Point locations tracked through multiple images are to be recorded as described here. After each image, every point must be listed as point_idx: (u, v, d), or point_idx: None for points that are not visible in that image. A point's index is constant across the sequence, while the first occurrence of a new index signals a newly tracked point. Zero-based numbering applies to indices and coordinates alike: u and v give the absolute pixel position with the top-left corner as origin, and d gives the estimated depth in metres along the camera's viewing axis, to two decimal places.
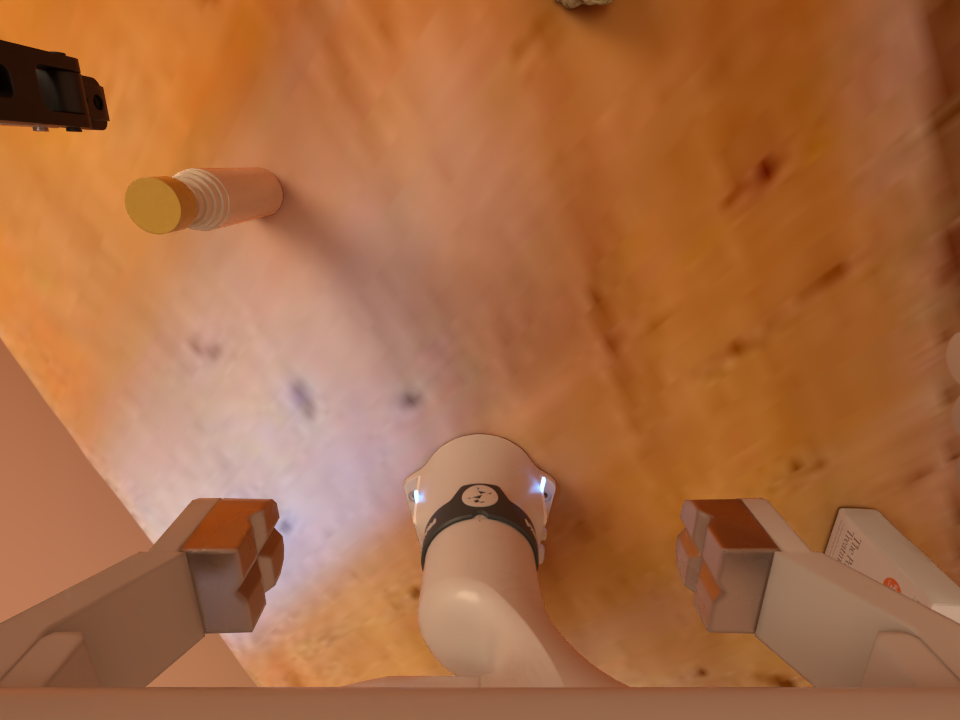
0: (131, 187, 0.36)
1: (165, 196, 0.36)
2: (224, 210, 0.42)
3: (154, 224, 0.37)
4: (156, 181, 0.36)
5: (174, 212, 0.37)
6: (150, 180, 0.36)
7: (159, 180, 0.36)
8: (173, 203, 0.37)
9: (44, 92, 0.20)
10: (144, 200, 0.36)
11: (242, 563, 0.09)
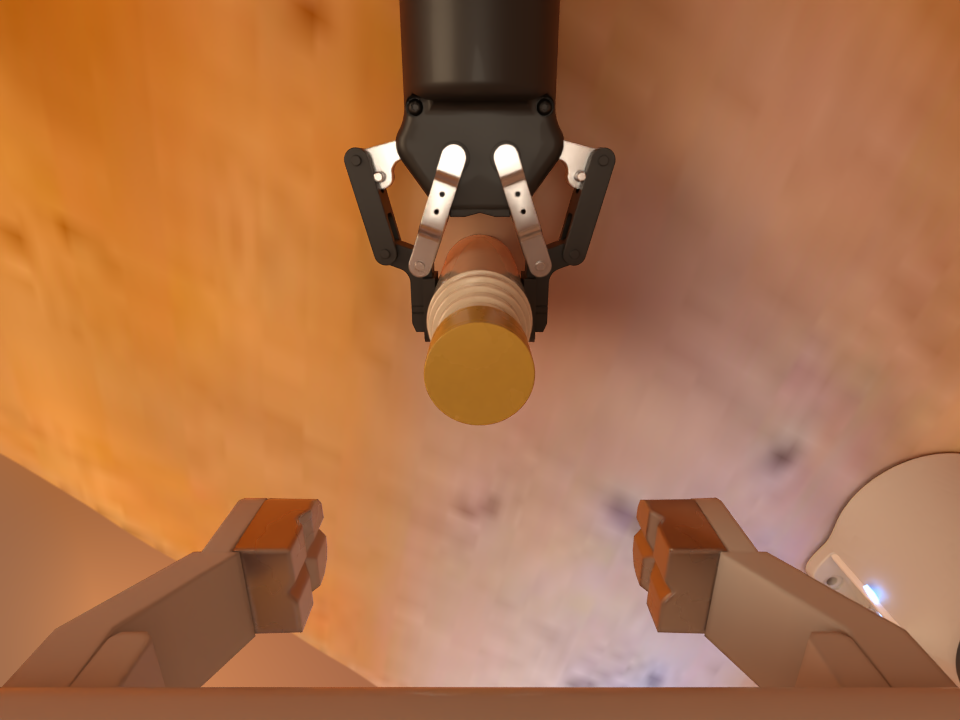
0: (431, 360, 0.18)
1: (497, 347, 0.18)
2: (530, 319, 0.23)
3: (491, 406, 0.19)
4: (473, 328, 0.18)
5: (521, 369, 0.18)
6: (461, 331, 0.18)
7: (478, 323, 0.17)
8: (515, 353, 0.18)
9: (397, 241, 0.29)
10: (462, 372, 0.18)
11: (295, 563, 0.09)
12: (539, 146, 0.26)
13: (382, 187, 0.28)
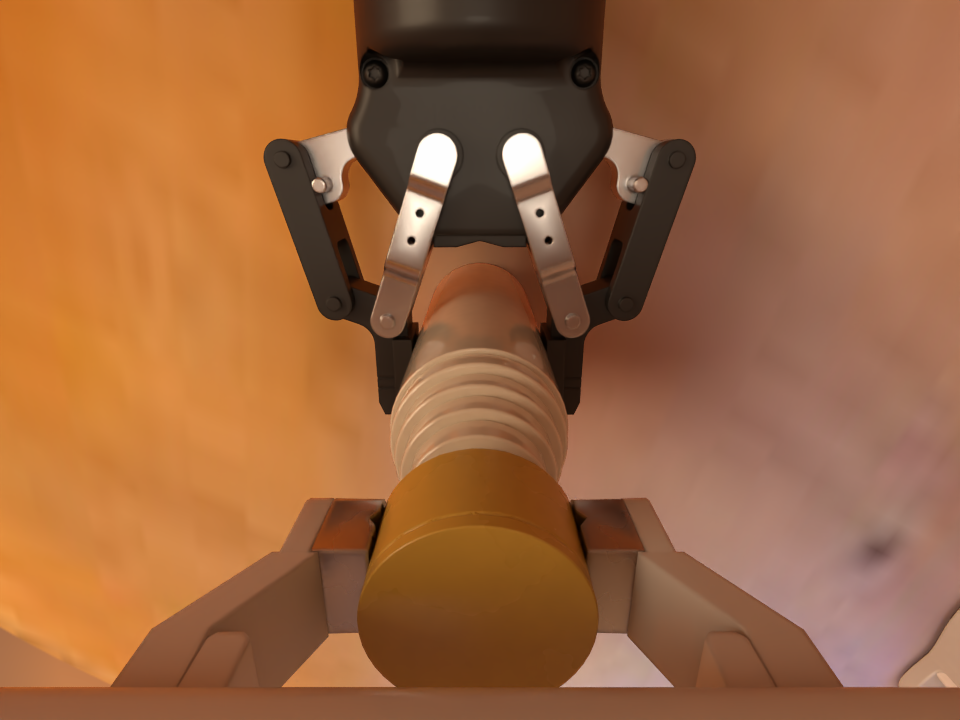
0: (371, 597, 0.08)
1: (518, 575, 0.08)
2: (567, 431, 0.14)
3: (502, 680, 0.09)
4: (464, 537, 0.08)
5: (570, 614, 0.08)
6: (437, 543, 0.08)
7: (475, 528, 0.08)
8: (558, 586, 0.08)
9: (354, 282, 0.19)
10: (440, 619, 0.08)
11: None
12: (575, 137, 0.16)
13: (328, 201, 0.18)
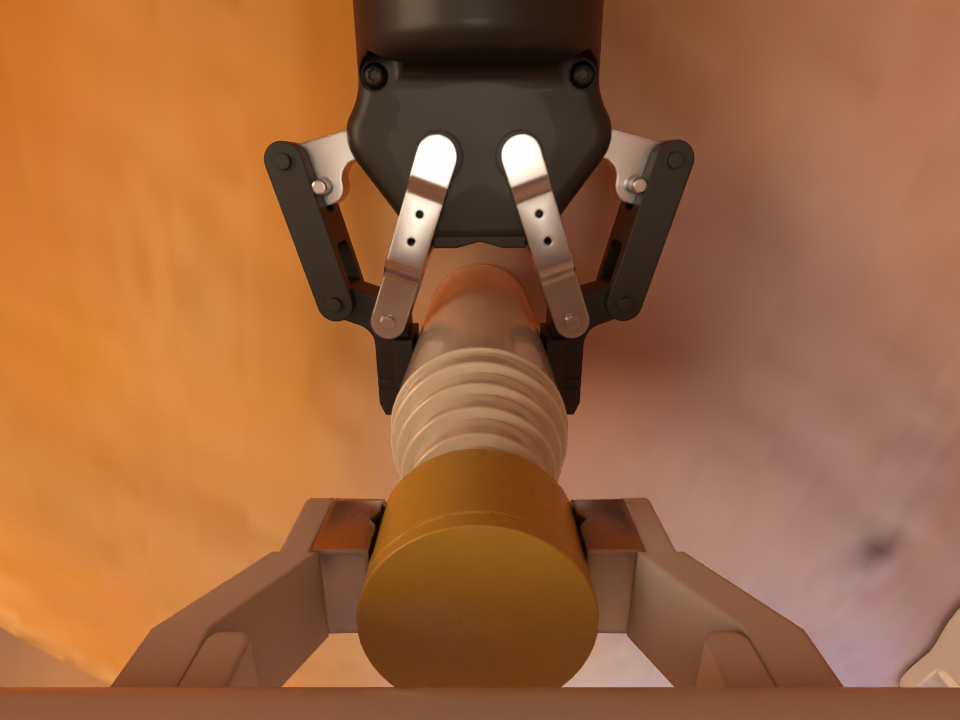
0: None
1: (412, 594, 0.08)
2: (566, 430, 0.14)
3: (554, 608, 0.08)
4: (368, 633, 0.08)
5: (464, 551, 0.08)
6: (377, 650, 0.09)
7: (358, 624, 0.08)
8: (426, 562, 0.08)
9: (355, 283, 0.19)
10: (467, 655, 0.09)
11: None
12: (573, 138, 0.16)
13: (328, 203, 0.18)
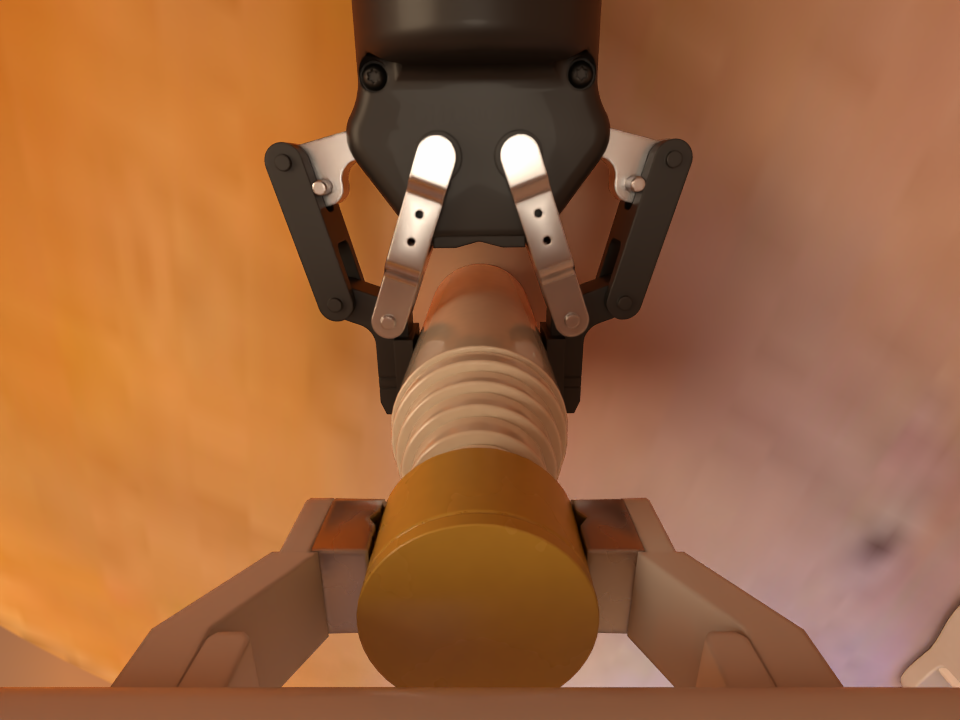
0: (576, 657, 0.09)
1: (435, 672, 0.09)
2: (566, 428, 0.14)
3: (457, 563, 0.08)
4: None
5: (385, 632, 0.08)
6: None
7: None
8: (398, 660, 0.09)
9: (355, 283, 0.19)
10: (514, 635, 0.08)
11: None
12: (572, 137, 0.17)
13: (329, 203, 0.18)
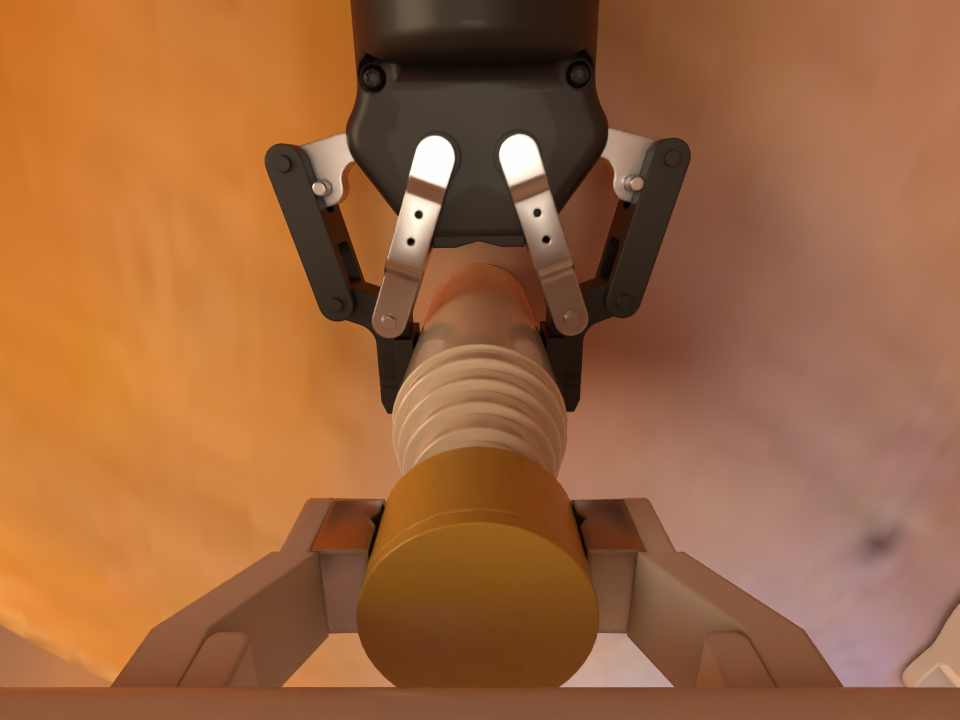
0: (528, 541, 0.08)
1: (536, 660, 0.09)
2: (565, 426, 0.14)
3: (401, 636, 0.08)
4: (588, 625, 0.08)
5: None
6: (584, 603, 0.08)
7: (595, 633, 0.08)
8: (518, 686, 0.09)
9: (355, 283, 0.19)
10: (491, 595, 0.08)
11: None
12: (571, 137, 0.17)
13: (329, 204, 0.18)
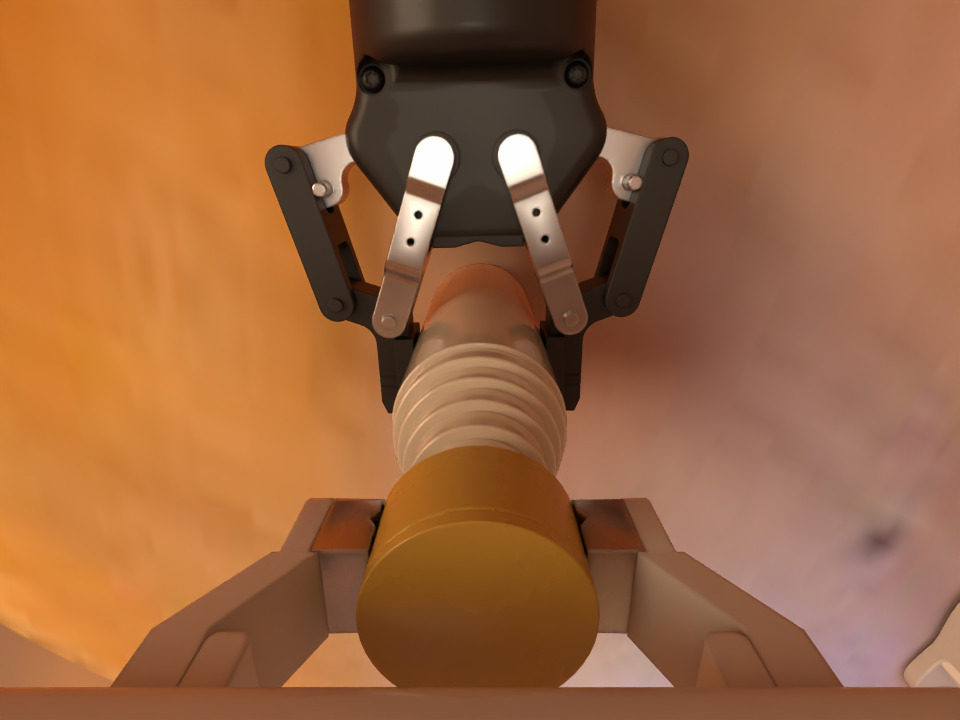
0: (376, 581, 0.08)
1: (528, 577, 0.08)
2: (565, 423, 0.14)
3: (490, 681, 0.09)
4: (482, 532, 0.08)
5: (572, 623, 0.08)
6: (454, 534, 0.08)
7: (495, 524, 0.08)
8: (565, 593, 0.08)
9: (356, 283, 0.19)
10: (441, 612, 0.08)
11: None
12: (569, 137, 0.17)
13: (328, 205, 0.18)
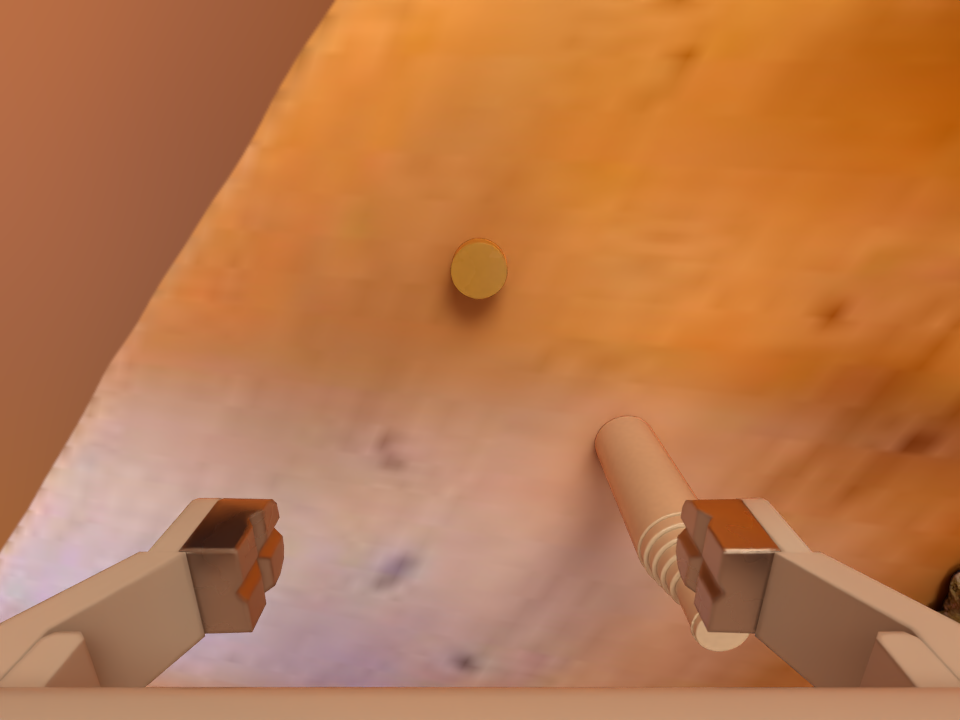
0: (466, 293, 0.36)
1: (465, 259, 0.35)
2: None
3: (497, 268, 0.36)
4: (453, 269, 0.36)
5: (479, 249, 0.35)
6: (454, 275, 0.36)
7: (451, 266, 0.35)
8: (470, 250, 0.35)
9: None
10: (475, 279, 0.36)
11: (242, 563, 0.09)
12: None
13: None
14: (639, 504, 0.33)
